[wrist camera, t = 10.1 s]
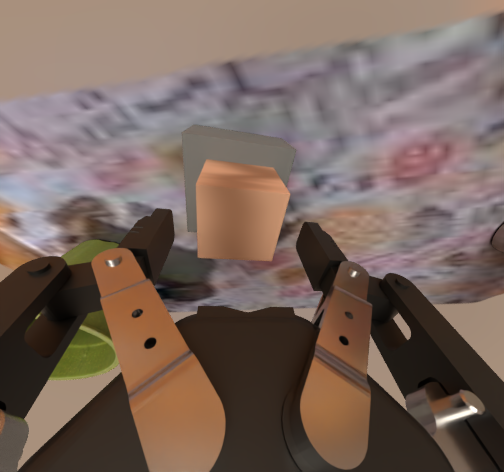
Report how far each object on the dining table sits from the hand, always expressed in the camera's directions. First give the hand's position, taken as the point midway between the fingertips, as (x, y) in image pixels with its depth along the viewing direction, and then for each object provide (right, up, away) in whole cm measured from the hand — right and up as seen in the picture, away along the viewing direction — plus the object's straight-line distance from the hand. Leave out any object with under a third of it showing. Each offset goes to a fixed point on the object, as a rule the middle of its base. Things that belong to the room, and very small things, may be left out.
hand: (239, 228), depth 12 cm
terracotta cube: (0, +3, +4) cm, 5 cm away
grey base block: (-1, +6, +8) cm, 10 cm away
